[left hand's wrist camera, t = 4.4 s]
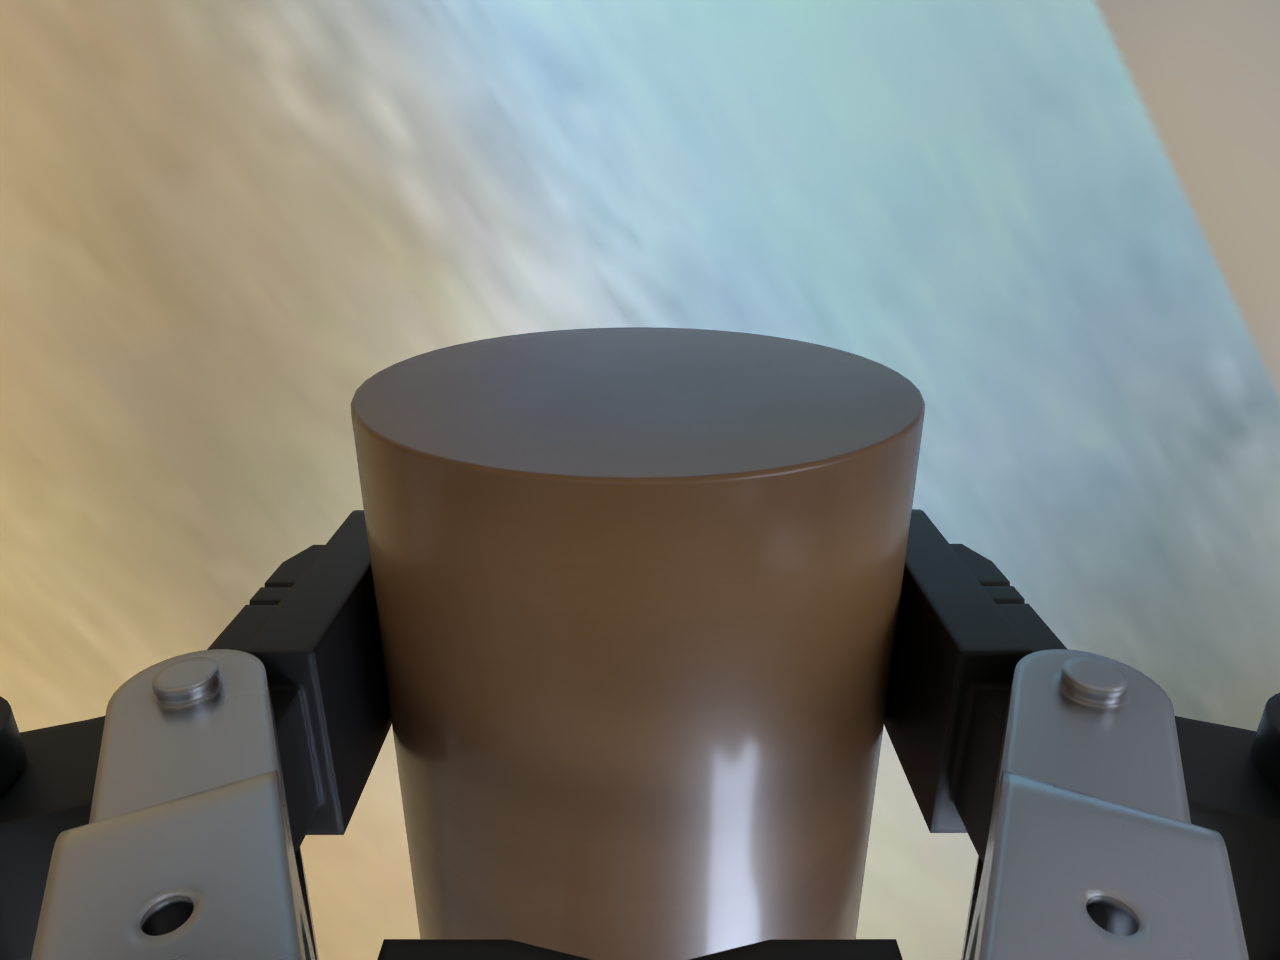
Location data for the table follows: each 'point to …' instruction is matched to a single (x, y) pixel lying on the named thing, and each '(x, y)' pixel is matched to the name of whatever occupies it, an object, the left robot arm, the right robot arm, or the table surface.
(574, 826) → the rod
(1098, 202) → the table surface
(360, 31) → the table surface
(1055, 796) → the left robot arm
